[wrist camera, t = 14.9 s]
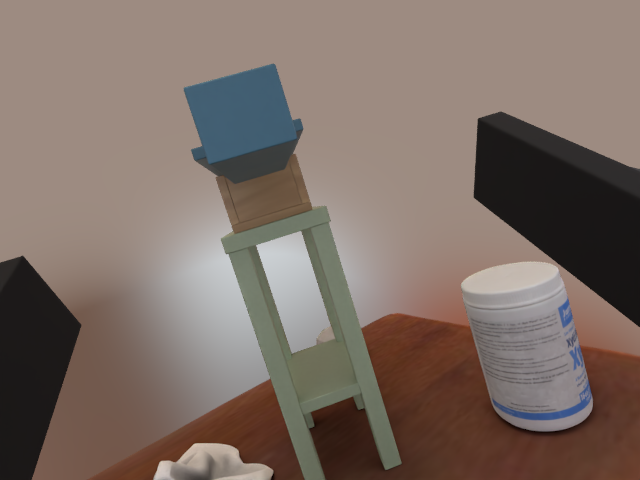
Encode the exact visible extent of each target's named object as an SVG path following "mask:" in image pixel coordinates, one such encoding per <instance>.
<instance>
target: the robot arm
mask: <svg viewBox="0 0 640 480" xmlns="http://www.w3.org/2000/svg"><path fill="white" fill-rule="evenodd" d="M477 128H478V129H477V145H476V164H475V183H474V198H475V199H476V200H478V201H479V202H480V203H481V204H483V205H484V206H485V207H486V208H488V209H489V210H490V211H491V212H493V213H494V214H495V215H497V216H498V217H499V218H500V219H502V220H503V221H504V222H506V223H507V224H508V225H509V226H511V227H512V228H513V229H515V230H516V231H517V232H519V233H520V234H521V235H522V236H524V237H525V238H526V239H527V240H529V241H530V242H531V243H533V244H534V245H535V246H536V247H538V248H539V249H540V250H541V251H543V252H544V253H545V254H547V255H548V256H549V257H551V258H552V259H553V260H554V261H556V262H557V263H558V264H559V265H561V266H562V267H563V268H565V269H566V270H567V271H568V272H570V273H571V274H572V275H573V276H575V277H576V278H577V279H579V280H580V281H581V282H583V283H584V284H585V285H586V286H588V287H589V288H590V289H592V290H593V291H594V292H595V293H597V294H598V295H599V296H600V297H602V298H603V299H604V300H605V301H607V302H608V303H609V304H611V305H612V306H613V307H615V308H616V309H617V310H618V311H620V312H621V313H622V314H623V315H625V316H626V317H627V318H629V319H630V320H631V321H632V322H634V323H635V324H636V325H638V326H639V327H640V169H637V168H632V167H629V166H626V165H624V164H621V163H619V162H617V161H615V160H612V159H610V158H607V157H605V156H603V155H601V154H598V153H596V152H594V151H592V150H589V149H587V148H584V147H582V146H580V145H578V144H575V143H573V142H570V141H568V140H566V139H564V138H561V137H559V136H557V135H554V134H552V133H550V132H547V131H545V130H543V129H541V128H538V127H536V126H534V125H531V124H529V123H527V122H524V121H522V120H520V119H517V118H515V117H513V116H510V115H508V114H506V113H503V112H498V113H495V114H491V115H488V116H485V117H482V118H479V119H478V126H477ZM80 328H81V324H80V323H79V322H78V321H77V319H76V318H75V317H74V316H73V315H72V313H71V312H70V311H69V310H68V309H67V307H66V306H65V305H64V304H63V303H62V302H61V300H60V299H59V298H58V297H57V296H56V294H55V293H54V292H53V291H52V290H51V289H50V287H49V286H48V285H47V284H46V282H45V281H44V280H43V279H42V278H41V277H40V275H39V274H38V273H37V272H36V271H35V269H34V268H33V267H32V266H31V265H30V264H29V262H28V261H27V260H26V259H25V258H24V257H23V256H21V257H18V258H15V259H11V260H8V261H4V262H1V263H0V480H32V477H33V474H34V471H35V468H36V464H37V461H38V458H39V455H40V452H41V449H42V446H43V443H44V440H45V436H46V433H47V430H48V427H49V424H50V421H51V418H52V415H53V412H54V409H55V405H56V402H57V399H58V396H59V393H60V390H61V387H62V384H63V381H64V378H65V374H66V371H67V368H68V365H69V362H70V359H71V356H72V353H73V350H74V346H75V343H76V340H77V337H78V334H79V331H80Z"/></svg>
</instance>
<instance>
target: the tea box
mask: <svg viewBox="0 0 640 480" xmlns="http://www.w3.org/2000/svg"><path fill="white" fill-rule="evenodd" d="M216 180H217V183H218V186H219V189H220V192H221V195H222V198H223V201H224V204H225V207H226V210H227V213H228V216H229V219H230V222H231V225H232V228H233V231H234V234H236V233H239V232H243V231H246V230H249V229H252V228H255V227H259V226H262V225H265V224H268V223H271V222H275V221H278V220H281V219H284V218H287V217H291V216H294V215H297V214H300V213H303V212H307V211H310V210H313V209H312V206H311V202H310V199H309V196H308V193H307V190H306V186H305V183H304V180H303V176H302V173H301V170H300V167H299V163H298V160H297V157H296V154H293V155H291V156H290V158H289V161H288V163H287V166H286V168H285V169H284V170H281V171H277V172H274V173H271V174H267V175H264V176H261V177H257V178H254V179H250V180H247V181H244V182H240V183H237V184H234V183H233V182H231V181H230V180H229V179H227V178H226V177H225V176H224V175H222V176H218V177H216Z"/></svg>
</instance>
